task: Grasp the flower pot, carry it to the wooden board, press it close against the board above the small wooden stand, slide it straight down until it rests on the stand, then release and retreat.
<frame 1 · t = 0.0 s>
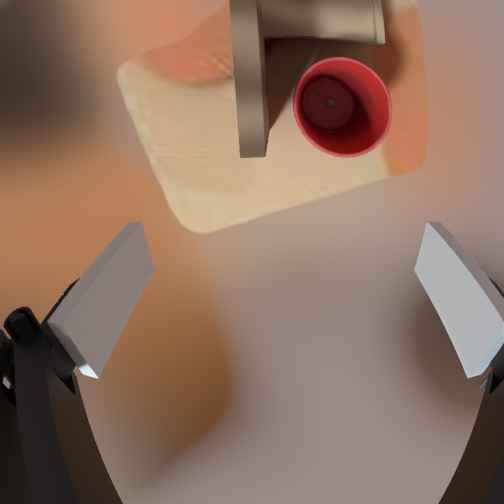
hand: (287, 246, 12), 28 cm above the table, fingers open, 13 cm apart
small wooden stand: (315, 3, 25), on the table
wooden board: (256, 40, 29), on the table
flower pot: (328, 103, 33), on the table
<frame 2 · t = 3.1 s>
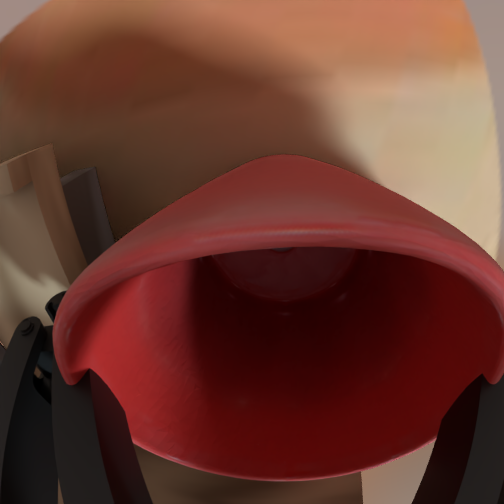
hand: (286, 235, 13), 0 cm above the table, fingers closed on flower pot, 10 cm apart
small wooden stand: (51, 251, 15), on the table
wooden board: (156, 345, 19), on the table
flower pot: (283, 230, 13), on the table, touching gripper
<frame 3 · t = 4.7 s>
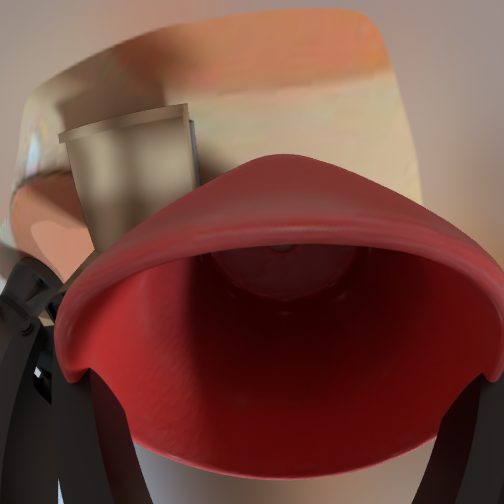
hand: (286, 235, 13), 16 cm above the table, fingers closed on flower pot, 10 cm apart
small wooden stand: (148, 173, 28), on the table
wooden board: (209, 236, 32), on the table
flower pot: (283, 229, 14), point 15 cm above the table, touching gripper
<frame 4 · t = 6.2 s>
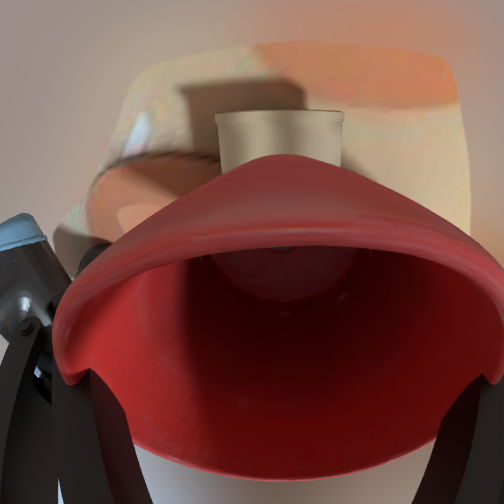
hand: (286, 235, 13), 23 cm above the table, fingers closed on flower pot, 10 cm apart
small wooden stand: (280, 162, 34), on the table
flower pot: (283, 229, 13), point 23 cm above the table, touching gripper
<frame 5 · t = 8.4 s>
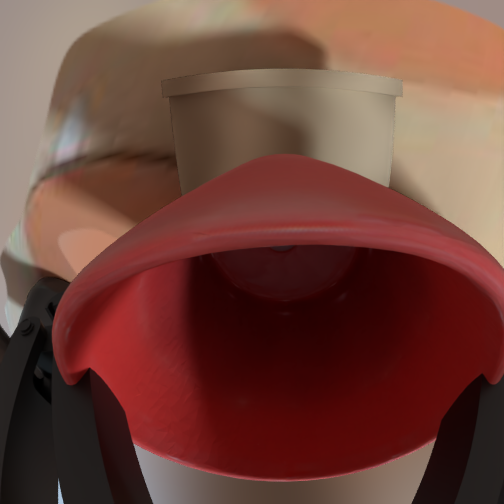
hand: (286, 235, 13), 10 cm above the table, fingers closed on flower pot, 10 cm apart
small wooden stand: (284, 166, 21), on the table
flower pot: (283, 229, 13), point 9 cm above the table, touching gripper
when the fingers open (6 cm above the table, at t = 9.7 s): flower pot moves 2 cm, resting on small wooden stand.
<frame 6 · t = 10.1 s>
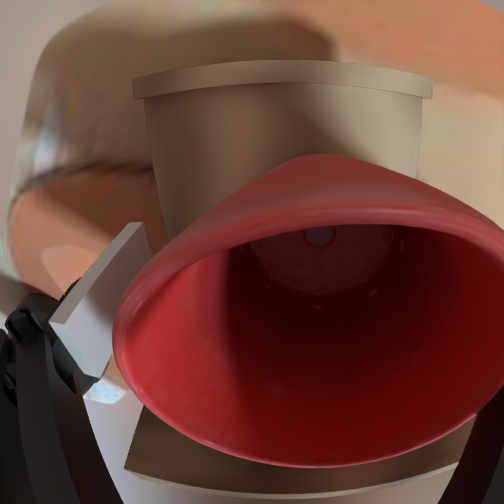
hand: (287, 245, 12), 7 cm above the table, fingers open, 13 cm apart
small wooden stand: (285, 178, 18), on the table
wooden board: (359, 277, 21), on the table
flower pot: (320, 225, 14), point 5 cm above the table, touching gripper, small wooden stand
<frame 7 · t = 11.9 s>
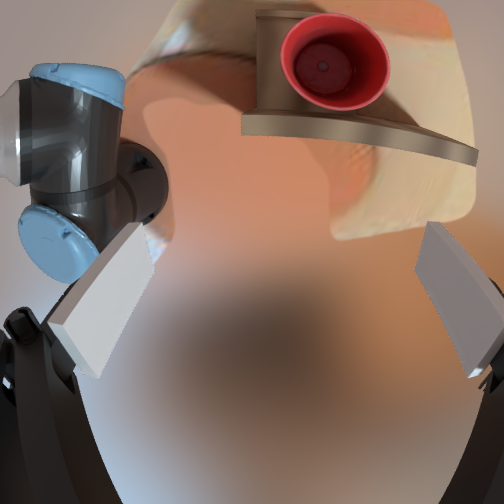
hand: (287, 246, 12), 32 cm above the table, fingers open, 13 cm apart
small wooden stand: (305, 64, 33), on the table
wooden board: (343, 119, 37), on the table
flower pot: (323, 68, 29), point 5 cm above the table, touching small wooden stand
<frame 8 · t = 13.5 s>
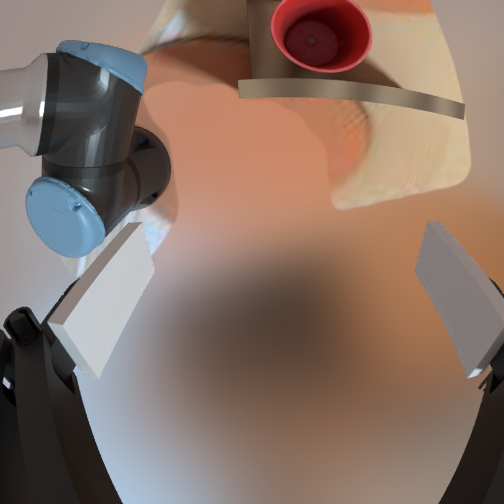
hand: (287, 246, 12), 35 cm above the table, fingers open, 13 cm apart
small wooden stand: (295, 42, 33), on the table
wooden board: (335, 91, 37), on the table
flower pot: (311, 42, 29), point 5 cm above the table, touching small wooden stand
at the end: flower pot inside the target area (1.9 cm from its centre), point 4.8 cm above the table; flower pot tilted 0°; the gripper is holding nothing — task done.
